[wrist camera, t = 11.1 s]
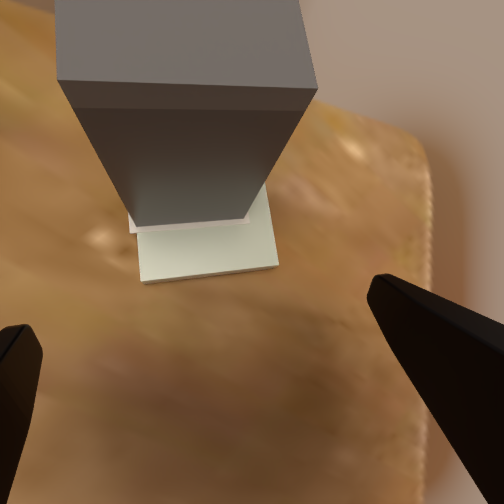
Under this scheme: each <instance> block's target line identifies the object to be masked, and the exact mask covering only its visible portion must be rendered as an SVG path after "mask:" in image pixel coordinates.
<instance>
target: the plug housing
mask: <svg viewBox="0 0 504 504" xmlns="http://www.w3.org/2000/svg"><path fill="white" fill-rule="evenodd" d="M55 29H56V62H57V81H58V83H59V84H60V86H61V88H62V90H63V92H64V94H65V96H66V97H67V99H68V101H69V103H70V105H71V107H72V109H73V110H74V112H75V114H76V116H77V118H78V120H79V122H80V123H81V125H82V127H83V129H84V131H85V133H86V135H87V136H88V138H89V140H90V142H91V144H92V146H93V148H94V149H95V151H96V153H97V155H98V157H99V159H100V161H101V162H102V164H103V166H104V168H105V170H106V172H107V174H108V175H109V177H110V179H111V181H112V183H113V185H114V187H115V188H116V190H117V192H118V194H119V196H120V198H121V200H122V201H123V203H124V205H125V207H126V209H127V211H128V213H129V214H130V216H131V218H132V220H133V222H134V224H135V226H136V227H142V226H155V225H168V224H180V223H193V222H206V221H219V220H232V219H244V217H245V215H246V214H247V212H248V210H249V208H250V207H251V205H252V203H253V201H254V200H255V198H256V196H257V194H258V193H259V191H260V189H261V188H262V186H263V184H264V182H265V181H266V179H267V177H268V175H269V174H270V172H271V170H272V168H273V167H274V165H275V163H276V161H277V160H278V158H279V156H280V154H281V153H282V151H283V149H284V147H285V146H286V144H287V142H288V140H289V139H290V137H291V135H292V133H293V132H294V130H295V128H296V126H297V125H298V123H299V121H300V119H301V118H302V116H303V114H304V112H305V111H306V109H307V107H308V105H309V104H310V102H311V100H312V98H313V97H314V95H315V93H316V91H317V90H318V86H317V82H316V77H315V73H314V68H313V64H312V59H311V54H310V50H309V46H308V41H307V36H306V32H305V28H304V23H303V18H302V14H301V9H300V5H299V1H298V0H55Z"/></svg>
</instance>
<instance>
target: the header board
mask: <svg viewBox="0 0 504 504" xmlns="http://www.w3.org/2000/svg"><path fill="white" fill-rule="evenodd" d="M128 215H129V228H130V234H132V233H137V241H138V253H139V266H140V279H141V282H142V283H143V284H150V283H158V282H166V281H175V280H183V279H191V278H199V277H207V276H216V275H224V274H232V273H240V272H248V271H257V270H265V269H273V268H275V267H276V266H278V265H279V262H278V256H277V250H276V245H275V239H274V233H273V227H272V221H271V215H270V209H269V204H268V198H267V192H266V186H265V182H264V184H263V186H262V188H261V189H260V191H259V193H258V194H257V196H256V198H255V200H254V201H253V203H252V205H251V207H250V208H249V210H248V212H247V214H246V215H245V217H244V219H232V220H219V221H206V222H193V223H180V224H168V225H155V226H142V227H136V226H135V224H134V222H133V220H132V218H131V216H130V214H129V213H128Z"/></svg>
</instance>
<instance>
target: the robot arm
mask: <svg viewBox="0 0 504 504" xmlns="http://www.w3.org/2000/svg"><path fill="white" fill-rule="evenodd" d="M367 302H368V305H369V307H370V309H371V311H372V313H373V315H374V317H375V319H376V321H377V323H378V325H379V327H380V329H381V331H382V333H383V335H384V337H385V339H386V341H387V343H388V344H389V346H390V348H391V350H392V351H393V353H394V355H395V356H396V358H397V360H398V361H399V363H400V364H401V366H402V368H403V369H404V371H405V372H406V374H407V376H408V377H409V379H410V380H411V382H412V383H413V385H414V387H415V388H416V390H417V391H418V393H419V395H420V396H421V398H422V399H423V401H424V403H425V404H426V406H427V407H428V409H429V411H430V412H431V414H432V415H433V417H434V418H435V420H436V422H437V423H438V425H439V426H440V428H441V430H442V431H443V433H444V434H445V436H446V438H447V439H448V441H449V442H450V444H451V446H452V447H453V449H454V450H455V452H456V453H457V455H458V457H459V458H460V460H461V461H462V463H463V465H464V466H465V468H466V469H467V471H468V473H469V474H470V476H471V477H472V479H473V480H474V482H475V484H476V485H477V487H478V489H479V490H480V492H481V493H482V495H483V497H484V498H485V500H486V501H487V503H488V504H504V325H503V324H501V323H499V322H497V321H494V320H492V319H490V318H488V317H485V316H483V315H481V314H479V313H476V312H474V311H472V310H470V309H467V308H465V307H463V306H461V305H458V304H456V303H454V302H452V301H449V300H447V299H445V298H443V297H440V296H438V295H436V294H434V293H431V292H429V291H427V290H425V289H422V288H420V287H418V286H416V285H414V284H411V283H409V282H407V281H405V280H402V279H400V278H398V277H396V276H393V275H391V274H379V275H375V276H374V277H373V279H372V282H371V285H370V288H369V291H368V293H367ZM42 358H43V351H42V347H41V345H40V343H39V341H38V339H37V337H36V335H35V333H34V331H33V330H32V328H31V326H29V325H28V324H21V325H14V326H8V327H5V328H4V329H2V330H1V331H0V504H7V500H8V497H9V494H10V490H11V487H12V484H13V480H14V477H15V474H16V471H17V467H18V464H19V461H20V457H21V454H22V451H23V447H24V444H25V441H26V437H27V434H28V430H29V427H30V423H31V418H32V413H33V408H34V402H35V397H36V391H37V386H38V380H39V375H40V369H41V363H42Z"/></svg>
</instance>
